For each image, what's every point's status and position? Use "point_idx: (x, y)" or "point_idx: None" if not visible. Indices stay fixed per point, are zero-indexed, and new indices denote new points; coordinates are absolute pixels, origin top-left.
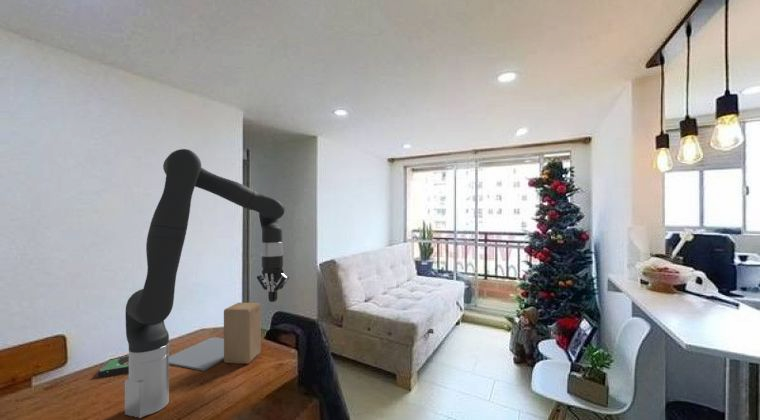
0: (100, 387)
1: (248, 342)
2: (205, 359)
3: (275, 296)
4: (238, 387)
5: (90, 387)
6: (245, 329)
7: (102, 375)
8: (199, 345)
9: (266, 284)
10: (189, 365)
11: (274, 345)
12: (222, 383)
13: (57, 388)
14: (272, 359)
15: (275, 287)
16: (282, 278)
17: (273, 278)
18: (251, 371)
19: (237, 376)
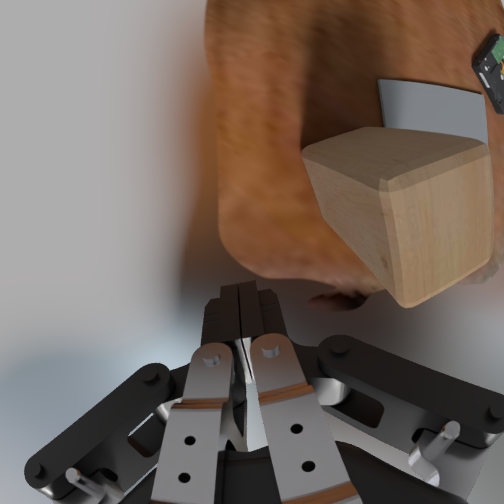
0: (462, 4)
1: (319, 156)
2: (420, 124)
3: (204, 327)
4: (210, 51)
5: (471, 5)
6: (348, 155)
7: (493, 36)
8: None
9: (309, 392)
10: (424, 87)
11: (323, 273)
12: (270, 46)
13: (494, 6)
14: (257, 204)
15: (235, 408)
16: (47, 479)
17: (157, 500)
18: (253, 122)
19: (265, 85)
